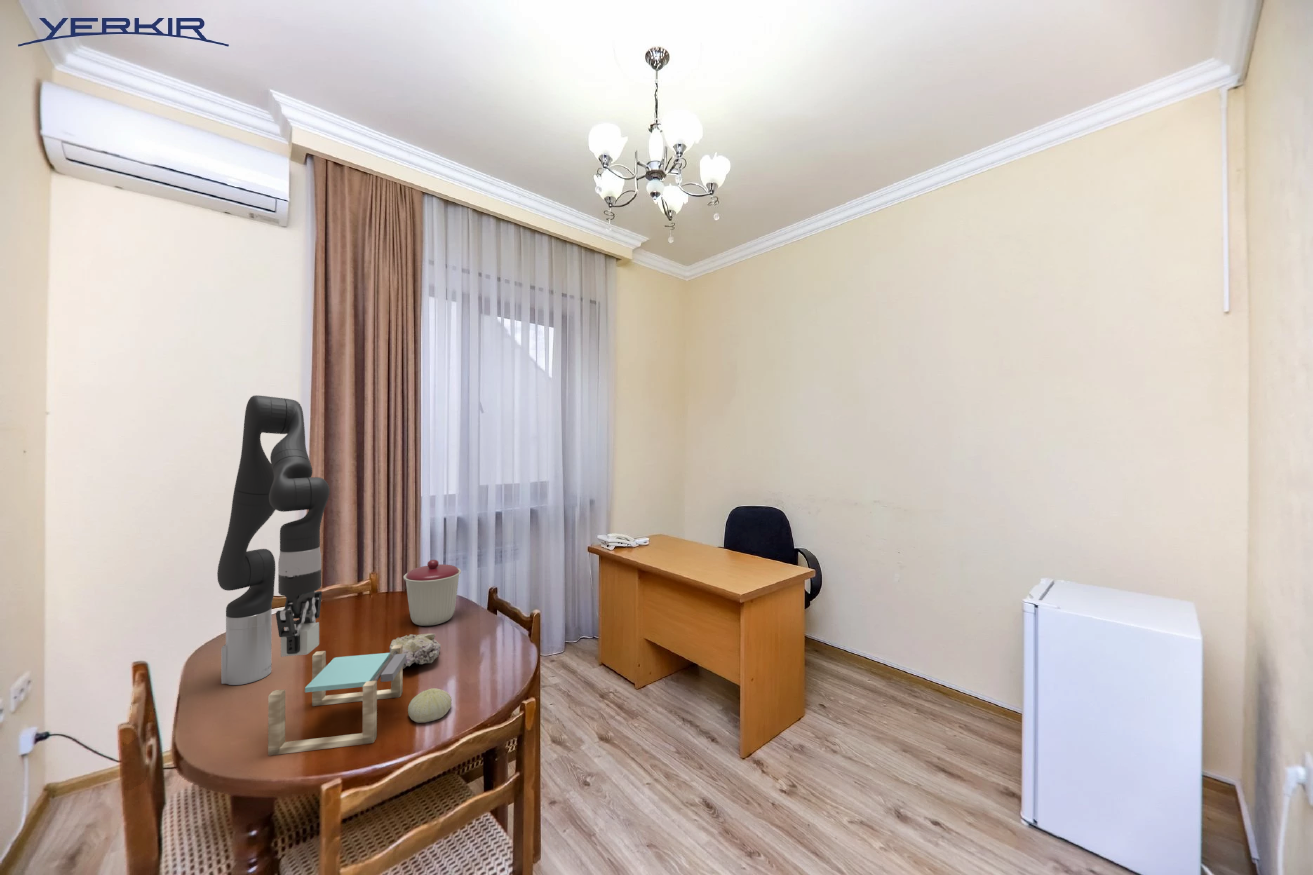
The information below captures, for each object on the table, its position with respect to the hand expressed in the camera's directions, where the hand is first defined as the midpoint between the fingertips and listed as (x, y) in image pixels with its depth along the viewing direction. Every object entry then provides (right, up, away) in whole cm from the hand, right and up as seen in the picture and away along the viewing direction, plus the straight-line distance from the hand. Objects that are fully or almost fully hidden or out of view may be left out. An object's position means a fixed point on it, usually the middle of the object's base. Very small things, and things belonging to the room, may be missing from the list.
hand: (300, 647), depth 104 cm
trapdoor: (+11, -8, +4) cm, 14 cm away
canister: (0, -18, +62) cm, 64 cm away
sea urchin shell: (+25, -18, +6) cm, 32 cm away
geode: (+10, -18, +31) cm, 38 cm away
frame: (+8, -18, +3) cm, 20 cm away
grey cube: (0, -1, 0) cm, 1 cm away
